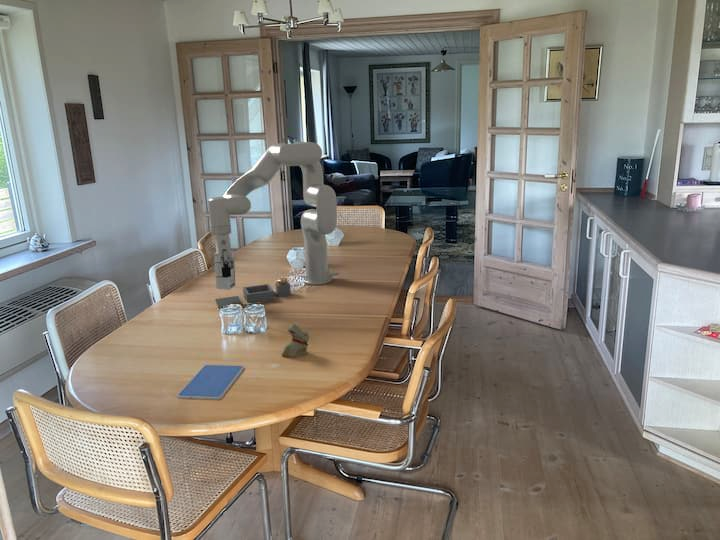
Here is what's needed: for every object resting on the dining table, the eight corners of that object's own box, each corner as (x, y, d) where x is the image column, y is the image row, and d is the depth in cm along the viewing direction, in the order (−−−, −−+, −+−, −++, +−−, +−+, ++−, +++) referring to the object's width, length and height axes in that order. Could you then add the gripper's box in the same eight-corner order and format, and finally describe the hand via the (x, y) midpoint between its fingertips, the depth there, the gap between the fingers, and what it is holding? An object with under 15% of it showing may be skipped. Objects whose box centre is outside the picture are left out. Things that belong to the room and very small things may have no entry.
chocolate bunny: (306, 358, 172) (303, 327, 169) (280, 357, 173) (278, 326, 170) (310, 350, 177) (308, 320, 174) (286, 350, 178) (284, 319, 176)
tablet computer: (220, 401, 149) (220, 397, 148) (175, 400, 150) (174, 395, 150) (245, 369, 167) (245, 365, 167) (204, 368, 169) (204, 364, 168)
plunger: (287, 291, 235) (286, 277, 233) (289, 294, 231) (288, 280, 229) (277, 292, 233) (276, 278, 232) (279, 295, 230) (278, 281, 228)
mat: (238, 297, 232) (238, 295, 232) (242, 305, 222) (242, 303, 222) (215, 300, 229) (215, 298, 229) (218, 308, 219) (218, 307, 219)
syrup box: (229, 290, 220) (228, 253, 217) (215, 289, 221) (213, 252, 218) (235, 286, 226) (234, 250, 222) (221, 285, 227) (219, 249, 223)
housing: (286, 290, 238) (285, 279, 237) (292, 297, 228) (291, 286, 227) (243, 296, 232) (242, 284, 231) (247, 304, 223) (246, 292, 221)
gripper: (234, 232, 211) (238, 278, 216) (228, 225, 227) (232, 267, 231) (213, 234, 209) (218, 281, 213) (208, 226, 224) (213, 270, 229)
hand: (225, 274), depth 222 cm, fingers closed on syrup box, 7 cm apart
